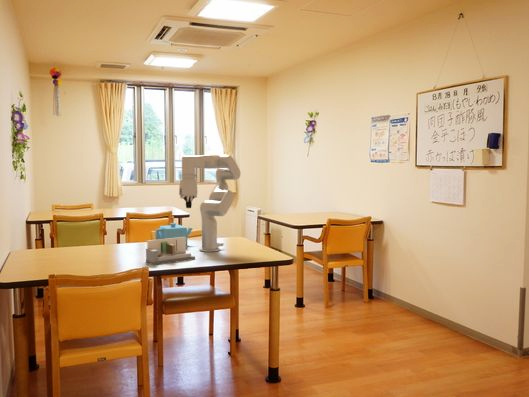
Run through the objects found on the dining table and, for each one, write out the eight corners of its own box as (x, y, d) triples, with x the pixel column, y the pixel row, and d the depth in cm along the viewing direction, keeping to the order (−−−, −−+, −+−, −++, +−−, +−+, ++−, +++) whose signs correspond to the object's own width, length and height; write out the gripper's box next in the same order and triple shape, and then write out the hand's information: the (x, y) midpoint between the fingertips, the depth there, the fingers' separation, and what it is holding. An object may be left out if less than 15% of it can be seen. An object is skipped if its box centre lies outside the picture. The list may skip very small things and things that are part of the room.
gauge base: (186, 256, 298) (186, 236, 297) (195, 259, 290) (194, 238, 289) (145, 261, 282) (145, 240, 281) (153, 264, 274) (153, 243, 273)
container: (152, 245, 335) (152, 222, 334) (188, 242, 347) (188, 220, 346) (159, 249, 320) (159, 225, 319) (196, 246, 332) (196, 223, 331)
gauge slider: (168, 256, 290) (168, 242, 289) (175, 258, 283) (175, 244, 283) (156, 257, 285) (156, 243, 284) (162, 260, 279) (162, 245, 278)
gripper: (196, 176, 301) (196, 206, 303) (173, 177, 292) (174, 208, 294) (202, 176, 295) (202, 207, 297) (180, 177, 286) (180, 209, 288)
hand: (188, 207), depth 295 cm, fingers closed
